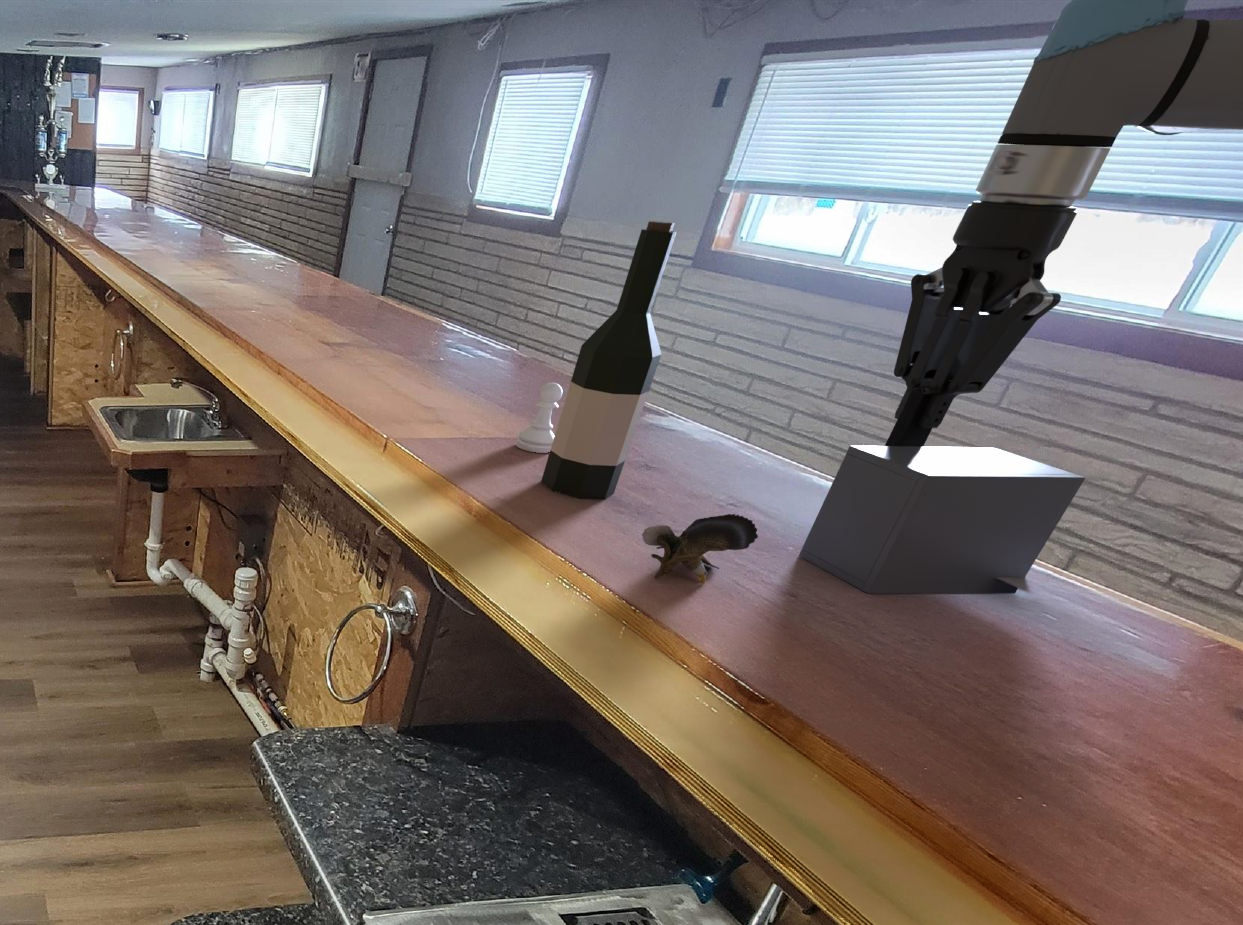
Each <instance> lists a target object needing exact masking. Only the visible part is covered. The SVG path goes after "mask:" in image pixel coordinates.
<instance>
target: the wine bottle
mask: <svg viewBox="0 0 1243 925" xmlns="http://www.w3.org/2000/svg"><path fill="white" fill-rule="evenodd" d="M674 228H675V222H672V221H671V222H670V221H660V220H659V221H657V220H650V221H648V223H647V225H646V228H642V229H641V230H640V233H639V236H638V240H637V243H636V246H635V249H634V253H633V256H632V259H631V263H630V265H629V269H628V272H627V275H626V279H625V281H624V285H623V288H622V291H621V295H620V298H619V301H618V304H617V307H616V310H615V311H614V312H613V313H612V314H611V315H610V316H609V317H608V318H607V319H606V320H605V321H604V322H603V323H602V324H601V325H600V326H599V327H598V328H597V329H596V330H595V331H594V332H593V333H592V334H591V335H590V336H589V337H588V338H587V339H586V340H585V341H584V342H583V343H582V344H581V346H580V350H579V353H578V356H577V359H576V363H575V366H574V370H573V373H572V376H571V379H570V382H569V386H568V389H567V393H566V397H565V400H564V403H563V406H562V410H561V413H560V415H559V420H558V424H557V426H556V429H555V433H554V435H555V436H554V440H553V443H552V446H551V450H550V453H548V457H547V459H546V464H545V467H544V470H543V474H542V476H541V480H540V483H541V482H542V483H541V484H542V485H544V486H545V485H546V486H547V487H546V486H545V487H546V488H548V489H549V488H550V489H551V490H552V492H554V491H557V492H556V493H558V492H560V493H559V494H561V493H562V494H561V495H565V494H567V495H566V496H569V497H573V498H577V499H590V500H606V499H607V498H609V497H610V496H612V495H613V494H615V491H616V489H617V485H618V483H619V480H620V478H621V474H622V471H623V468H624V465H625V462H626V459H627V457H628V453H629V450H630V447H631V445H632V442H633V439H634V436H635V433H636V431H637V427H638V425H639V421H640V418H641V416H642V412H643V409H644V406H645V404H646V401H647V398H648V395H649V392H650V390H651V386H652V383H653V380H654V377H655V375H656V372H657V368H658V366H659V363H660V359H661V357H662V350H661V348H660V344H659V340H658V337H657V333H656V329H655V325H654V322H653V320H652V319H653V318H652V316H651V311H652V308H653V305H654V303H655V300H656V296H657V294H658V290H659V287H660V285H661V282H662V278H663V275H664V273H665V269H666V266H667V263H668V259H669V257H670V254H671V251H672V248H673V245H674V241H675V238H676V236H677V231H673V230H674ZM550 489H549V490H550ZM551 490H550V491H551Z"/></svg>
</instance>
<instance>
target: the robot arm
mask: <svg viewBox="0 0 1243 925" xmlns="http://www.w3.org/2000/svg"><path fill="white" fill-rule="evenodd" d="M1188 2H1189V0H1071V1H1070V2H1068V3H1067V4H1066V5H1065V6H1063V8H1062V9H1061V11H1060V13H1059V15H1058V17H1057V19H1056V21H1055V23H1054V24H1053V26H1052V28H1051V29H1050V30H1051V31H1050V32H1049V34H1048V36H1047V38H1046V40H1045V42H1044V43H1043V45H1042V47H1041V49H1040V51H1039V53H1038V54H1037V56H1036V57H1034V59H1033V62H1032V63H1033V64H1032V66H1031V68H1030V70H1029V72H1028V75H1027V77H1026V79H1025V81H1024V83H1023V85H1022V88H1021V91H1020V93H1019V95H1018V97H1017V100H1016V101H1015V104H1014V106H1013V108H1012V110H1011V112H1010V114H1009V117H1008V119H1007V121H1006V123H1005V125H1004V128H1003V130H1002V132H1001V135H1000V137H999V138H998V141H997V144H996V145H995V147H994V149H993V152H992V154H991V155H990V158H989V160H988V162H987V164H986V166H985V169H984V171H983V173H982V176H981V178H980V180H979V182H978V184H977V187H976V189H975V192H976V194H978V195H980V198H979V200H974V201H971V204H967V206H966V209H965V210H964V213H963V214H962V217H961V219H960V221H959V223H958V225H957V228H956V229H955V231H954V234H953V235H952V242H953V244H955V245H956V246H955V249H954V250H953V251H952V253H951V254H949V256H948V257H947V258H945V260H944V262H943V263H942V266H941V267H940V268H938V269H936V270H933V271H931V272H929V273H917V274H915V275H914V276H912V278H911V280H910V289H911V290H910V291H911V302H910V306H909V310H908V313H907V318H906V322H905V326H904V330H903V333H902V337H901V342H900V346H899V348H898V354H897V357H896V362H895V365H894V369H893V375H894V376H895V377H896V378H901V379H902V380H903V381H904V382H905V386H906V390H905V392H904V394H903V395H902V398H901V400H900V401H899V404H898V407H897V408H896V410H895V412H894V419H895V420H896V422H895V424H894V426H893V428H892V429H891V432H890V434H889V435H888V438H887V440H886V442H885V444H884V446H912V447H925V446H924V445H926V442H927V440H928V438H929V436H930V434H931V433H932V430H933V429H937V428H939V426H941V424H942V422H943V421H944V418H945V417H946V414H947V413H948V411H949V409H950V407H951V405H952V403H953V401H954V400H955V398H956V397H957V396H959V395H963V394H977V393H980V392H982V390H984V389H985V387H986V386H987V384H988V383H989V382H990V381H991V379H993V377H994V376H995V374H997V372H998V370H999V369H1000V368H1001V367H1002V365H1003V364H1004V363H1005V362H1006V361H1007V359H1008V358H1009V357H1010V356H1011V355H1012V353H1013V352H1014V351H1015V349H1016V348H1017V347H1018V345H1019V344H1020V343H1021V341H1022V340H1023V339H1024V338H1025V336H1026V335H1027V334H1028V333H1029V331H1031V329H1032V328H1033V326H1034V325H1035V324H1036V323H1037V322H1038V320H1039V319H1041V318H1042V317H1043V316H1044V315H1046V314H1047V313H1048V312H1050V311H1051V310H1053V309H1054V308H1055V307H1056V306H1058V305H1059V304H1060V302H1061V300H1062V296H1061V294H1060V293H1059V292H1049V291H1048V290H1047V288H1046V287H1045V286H1044V284H1043V282H1042V281H1041V280H1042V279H1043V277H1044V275H1045V264H1046V261H1047V258H1048V256H1049V255H1050V254H1051V253H1052V252H1054V251H1056V250H1058V249H1059V248H1060V246H1061V245H1062V244H1063V242H1064V240H1065V237H1066V236H1067V234H1068V232H1069V230H1070V228H1071V226H1072V224H1073V222H1074V220H1075V218H1076V216H1077V214H1078V212H1079V211H1077V207H1075V206H1073V204H1074V203H1075V201H1076V200H1083V199H1085V198H1086V197H1087V196H1088V194H1089V192H1090V190H1091V188H1092V186H1093V185H1094V183H1095V181H1096V179H1097V176H1098V175H1099V173H1100V171H1101V169H1102V167H1103V164H1104V163H1105V161H1106V159H1107V157H1108V155H1109V153H1110V151H1111V148H1112V147H1113V145H1114V143H1115V141H1116V139H1117V137H1118V136H1119V134H1120V133H1121V131H1122V129H1123V128H1124V127H1128V126H1129V127H1136V128H1138V129H1140V130H1144V131H1145V132H1149V133H1153V134H1154V135H1159V136H1174V135H1179V134H1182V133H1191V132H1209V131H1211V132H1212V131H1225V130H1226V131H1227V130H1228V131H1229V130H1230V131H1231V130H1232V131H1243V19H1202V18H1201V19H1199V18H1198V19H1197V18H1195V17H1184V16H1185V15H1186V13H1187V11H1186V6H1187V5H1188Z"/></svg>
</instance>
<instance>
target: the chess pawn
mask: <svg viewBox="0 0 1243 925" xmlns="http://www.w3.org/2000/svg"><path fill="white" fill-rule="evenodd" d="M538 392H539V393H538V397H539V399H540V400H538V401H537V402H536V403H535V406H537V407H540V408H539V410H538V413H537V415H536V417H535V419H534V420H533V421H530V423H529V427H528V428H526V429H524V430H522V431H521V432H519V434H518V438H517V440H516V442H515V446H516V447H517V448H519V449H521V450H522V451H526V452H530V453H535V452H536V453H537V454H549V453H548V452H550V450H551V446H552V443H553V440H554V436H555V433H553V431H552V429H553V428H554V425H553V424H552V422H551V419H552V418H551V417H552V413H553V410H554V409H555V410H556V409H559V404H558V403H557V402H558V401H559V400H560V399H561V398H562V396H563V388H562V386H561V385H560V384H558V383H556V382H548V383H544V384H543V385H542V386H541V387H540V388H539V391H538ZM536 453H535V454H536Z"/></svg>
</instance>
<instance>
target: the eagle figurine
mask: <svg viewBox="0 0 1243 925" xmlns="http://www.w3.org/2000/svg"><path fill="white" fill-rule="evenodd" d="M757 532H758V528H757V527H756V524H755V523H753V520H752V519H749V518H748V517H745V516H744V515H740V514H736V513H728V514H724V515H714V516H709V517H702V518H701V517H700V518H697V519H695V520H694V521H693V522H692V523H691V524H690V525H688V527H686V528H685V530H683V531H682V533H681V534H680V535H676V534H675V532H674V530H672V528H671V527H670V526H669V525H662V524H661V525H654V526H648V527H647V528H644V530H643V532H642V534H641V536H642V540H643V542H644V543H645V545H647V546H653V547H656V548H655V549H656V550H659V549H664V550H663V551H664V552H663V556H660V555H659V554H656V553H651V554H650V556H651V558H652V559H656V560H657V561H659V563H660V566H659V569H658V571H657V572H656V574H655V576H654V579H656V580H657V579H659V578H662V577H664V576H665V575H669V574H670V573H671V572H672V571H673V570H674V569H675V568H676V567H677V566H678V565H679V564H681V565H682V566H684V568H687V569H689V570H690V571H692V573H693V574H694V575H695V576H696V577H697V578H698V579H700V581H701V583H702V584H705V583H706V577H707V575H708V572H707V570H706V568H705V566H704V565H707V566H710V567H712V568H715V569H717V570H720V567H719V566H717V565H715V564H713V563H712V562H711V561H709V560H708V558H707V556H706V555H705V554H706V553H708V552H724V551H725V552H726V551H729V550H730V551H741V550H745V549H748V548H749V547H750V545H751V544H753V543H755V540H757V539H758V538H759V536H758V535H759V534H758V533H757Z"/></svg>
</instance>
